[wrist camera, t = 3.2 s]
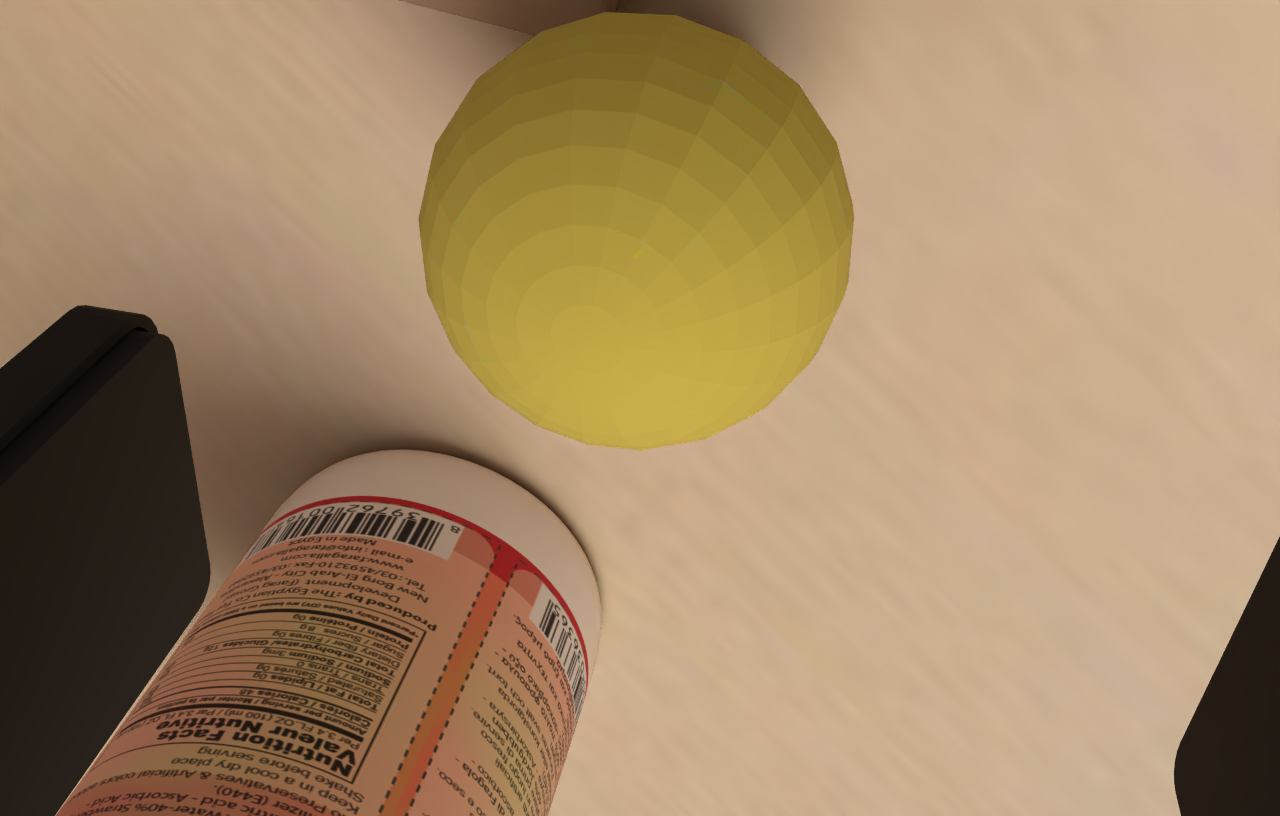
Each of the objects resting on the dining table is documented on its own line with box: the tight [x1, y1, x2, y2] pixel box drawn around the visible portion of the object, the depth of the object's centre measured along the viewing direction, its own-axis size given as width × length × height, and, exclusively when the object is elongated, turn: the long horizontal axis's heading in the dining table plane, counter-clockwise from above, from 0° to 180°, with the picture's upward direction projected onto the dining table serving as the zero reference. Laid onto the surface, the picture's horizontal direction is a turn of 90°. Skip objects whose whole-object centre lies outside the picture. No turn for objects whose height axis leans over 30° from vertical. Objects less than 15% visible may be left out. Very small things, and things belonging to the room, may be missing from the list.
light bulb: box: [419, 12, 854, 450], centre depth 20 cm, size 7×7×10 cm
